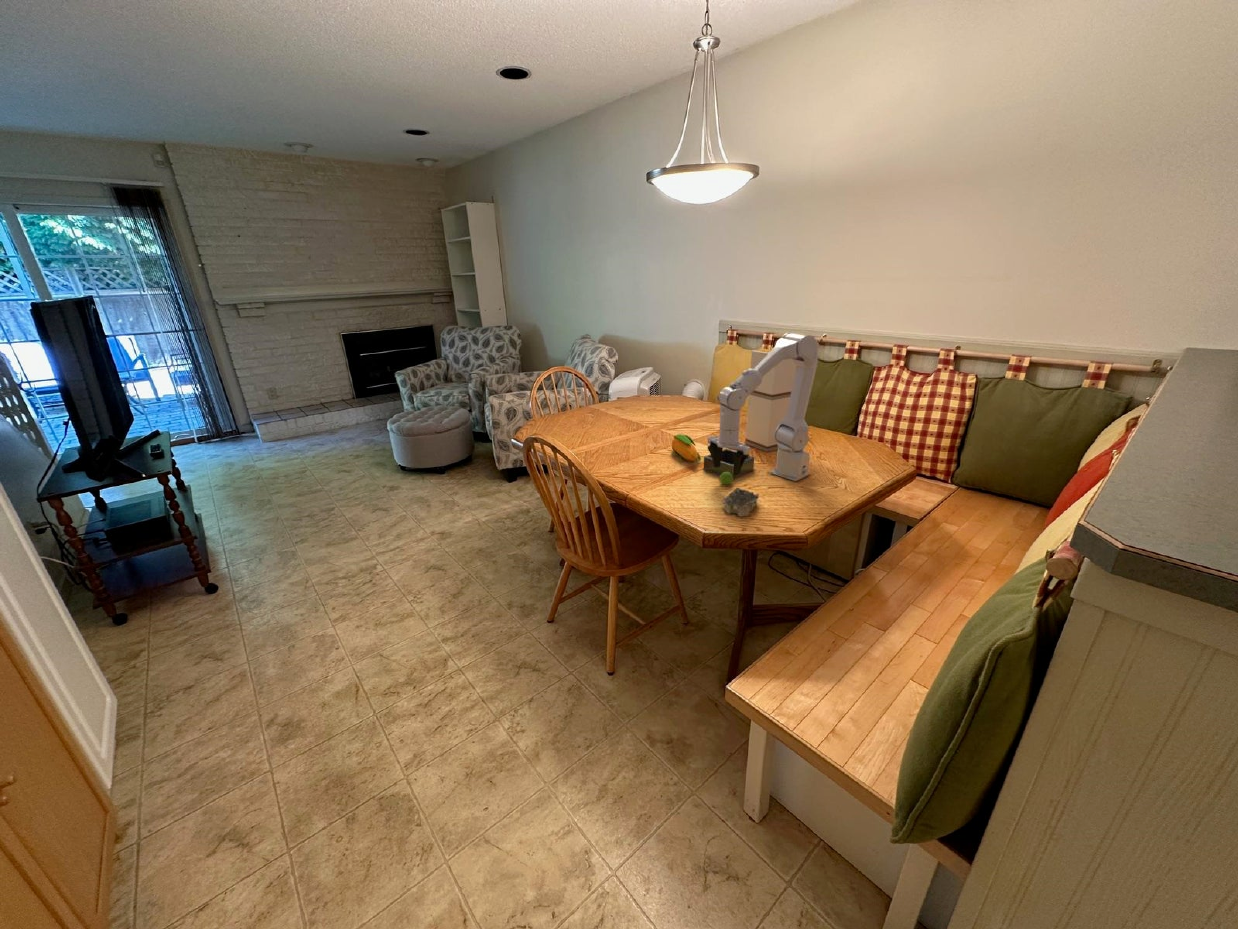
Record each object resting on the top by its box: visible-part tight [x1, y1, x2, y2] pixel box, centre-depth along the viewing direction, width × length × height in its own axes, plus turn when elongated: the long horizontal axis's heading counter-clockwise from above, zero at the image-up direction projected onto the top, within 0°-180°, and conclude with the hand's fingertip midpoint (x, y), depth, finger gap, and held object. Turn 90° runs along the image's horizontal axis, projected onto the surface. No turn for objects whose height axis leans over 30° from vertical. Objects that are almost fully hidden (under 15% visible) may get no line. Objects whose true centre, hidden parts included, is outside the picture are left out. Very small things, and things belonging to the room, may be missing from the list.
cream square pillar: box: [744, 347, 797, 453], centre depth 175 cm, size 11×11×35 cm
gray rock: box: [722, 486, 760, 517], centre depth 132 cm, size 11×8×4 cm
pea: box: [719, 472, 734, 486], centre depth 147 cm, size 4×4×4 cm
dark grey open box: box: [703, 448, 755, 479], centre depth 158 cm, size 12×12×5 cm
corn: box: [671, 433, 702, 462], centre depth 169 cm, size 7×8×20 cm
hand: (726, 470), depth 146 cm, fingers open, 7 cm apart
